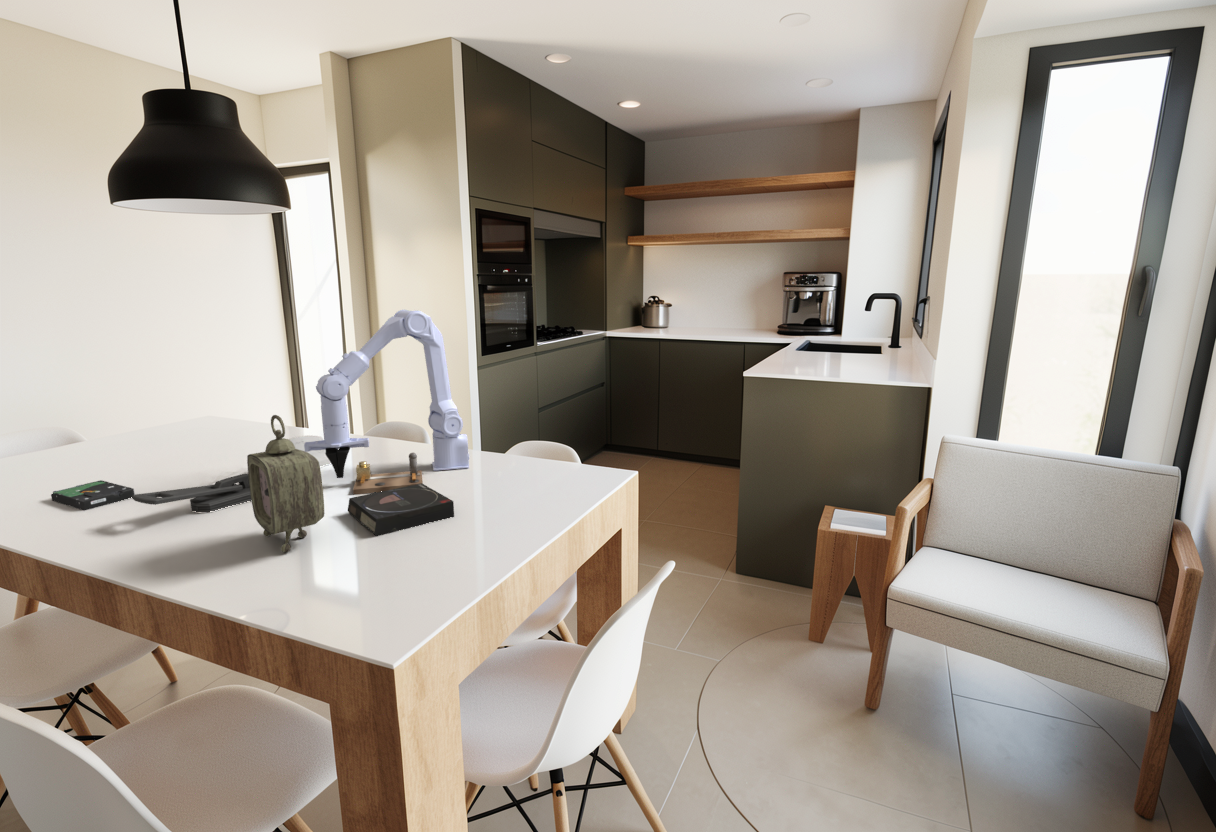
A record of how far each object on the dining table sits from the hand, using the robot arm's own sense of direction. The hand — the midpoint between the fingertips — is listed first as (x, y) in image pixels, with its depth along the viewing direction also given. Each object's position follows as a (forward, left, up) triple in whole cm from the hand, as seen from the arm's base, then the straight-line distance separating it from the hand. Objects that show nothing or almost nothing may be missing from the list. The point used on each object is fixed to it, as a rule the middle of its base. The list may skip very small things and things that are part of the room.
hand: (340, 476), depth 152 cm
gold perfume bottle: (-5, +2, -1) cm, 6 cm away
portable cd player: (-14, +26, -3) cm, 30 cm away
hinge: (+12, -20, -3) cm, 23 cm away
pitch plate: (-11, +2, -2) cm, 12 cm away
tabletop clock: (+6, +34, -3) cm, 35 cm away
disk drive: (+54, -7, -3) cm, 55 cm away
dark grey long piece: (+27, +9, -3) cm, 29 cm away
